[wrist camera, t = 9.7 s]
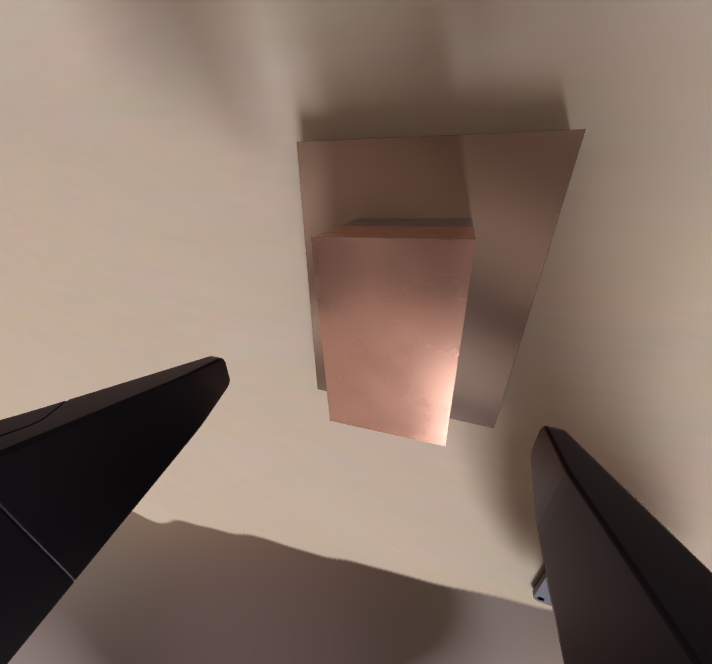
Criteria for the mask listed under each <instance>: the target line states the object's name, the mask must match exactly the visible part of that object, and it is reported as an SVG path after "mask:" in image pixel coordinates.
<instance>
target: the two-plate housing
mask: <svg viewBox="0 0 712 664" xmlns="http://www.w3.org/2000/svg"><path fill="white" fill-rule="evenodd" d="M475 243H476V237H475V232H474V227H473V221H472V218H382V219H356V220H353V221H351V222H348V223H345V224H343V225H340V226H338V227H335V228H332V229H330V230H327V231H324V232H322V233H319V234H317V235H314V236H311V245H312V254H313V264H314V273H315V282H316V292H317V301H318V311H319V320H320V330H321V339H322V348H323V358H324V367H325V377H326V386H327V395H328V405H329V414H330V421H334V422H339V423H343V424H348V425H352V426H357V427H361V428H366V429H370V430H375V431H379V432H384V433H388V434H393V435H397V436H402V437H406V438H411V439H415V440H420V441H424V442H429V443H433V444H438V445H442V446H445V444H446V437H447V430H448V424H449V417H450V410H451V404H452V397H453V390H454V384H455V377H456V370H457V363H458V357H459V350H460V343H461V337H462V330H463V323H464V317H465V310H466V303H467V297H468V290H469V283H470V277H471V270H472V263H473V256H474V250H475Z"/></svg>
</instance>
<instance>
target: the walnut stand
mask: <svg viewBox="0 0 712 664" xmlns="http://www.w3.org/2000/svg"><path fill="white" fill-rule="evenodd" d="M584 133H585V129H580V130H558V131H535V132H512V133H489V134H467V135H444V136H421V137H399V138H376V139H353V140H330V141H308V142H297V150H298V161H299V173H300V185H301V197H302V209H303V221H304V233H305V245H306V256H307V268H308V280H309V292H310V304H311V316H312V328H313V340H314V352H315V363H316V375H317V387H318V389H320V390H324V391H327V386H326V377H325V367H324V358H323V348H322V339H321V330H320V320H319V311H318V301H317V292H316V282H315V273H314V264H313V254H312V245H311V236H314V235H317V234H319V233H322V232H324V231H327V230H330V229H332V228H335V227H338V226H340V225H343V224H345V223H348V222H351V221H353V220H356V219H382V218H472V221H473V227H474V232H475V237H476V243H475V250H474V256H473V263H472V270H471V277H470V283H469V290H468V297H467V303H466V310H465V317H464V323H463V330H462V337H461V343H460V350H459V357H458V363H457V370H456V377H455V384H454V390H453V397H452V404H451V410H450V417H449V418H451V419H456V420H460V421H465V422H469V423H474V424H478V425H483V426H487V427H492V428H494V426H495V423H496V419H497V416H498V413H499V409H500V406H501V403H502V400H503V396H504V393H505V390H506V387H507V383H508V380H509V377H510V374H511V370H512V367H513V364H514V361H515V357H516V354H517V351H518V348H519V344H520V341H521V338H522V335H523V331H524V328H525V325H526V322H527V318H528V315H529V312H530V308H531V305H532V302H533V299H534V295H535V292H536V289H537V286H538V282H539V279H540V276H541V273H542V269H543V266H544V263H545V260H546V256H547V253H548V250H549V247H550V243H551V240H552V237H553V234H554V230H555V227H556V224H557V220H558V217H559V214H560V211H561V207H562V204H563V201H564V198H565V194H566V191H567V188H568V185H569V181H570V178H571V175H572V172H573V168H574V165H575V162H576V159H577V155H578V152H579V149H580V146H581V142H582V139H583V136H584Z"/></svg>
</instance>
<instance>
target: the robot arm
mask: <svg viewBox="0 0 712 664" xmlns="http://www.w3.org/2000/svg"><path fill="white" fill-rule="evenodd" d="M229 382H230V378H229V374H228V371H227V367H226V363H225V361H224V360H223V359H222V358H219V357H214V356H210V357H206V358H203V359H200V360H196V361H193V362H190V363H187V364H183V365H180V366H177V367H174V368H170V369H167V370H164V371H161V372H157V373H154V374H151V375H148V376H144V377H141V378H138V379H135V380H131V381H128V382H125V383H122V384H118V385H115V386H112V387H109V388H106V389H102V390H99V391H96V392H93V393H89V394H86V395H83V396H80V397H76V398H73V399H70V400H68V401H63V402H60V403H57V404H53V405H50V406H47V407H44V408H40V409H37V410H33V411H30V412H27V413H23V414H20V415H17V416H13V417H9V418H6V419H2V420H0V664H8V663H9V661H10V660H11V659H12V658H13V656H14V655H15V654H16V653H17V651H18V650H19V649H20V648H21V647H22V645H23V644H24V643H25V642H26V640H27V639H28V638H29V637H30V636H31V634H32V633H33V632H34V631H35V629H36V628H37V627H38V626H39V625H40V623H41V622H42V621H43V620H44V618H45V617H46V616H47V615H48V613H49V612H50V611H51V610H52V609H53V607H54V606H55V605H56V604H57V602H58V601H59V600H60V599H61V598H62V596H63V595H64V594H65V593H66V591H67V590H68V589H69V588H70V587H71V585H72V584H73V583H74V580H76V579H77V577H78V576H79V575H80V574H81V572H82V571H83V570H84V569H85V568H86V566H87V565H88V564H89V563H90V562H91V560H92V559H93V558H94V557H95V555H96V554H97V553H98V552H99V551H100V549H101V548H102V547H103V546H104V544H105V543H106V542H107V541H108V540H109V538H110V537H111V536H112V535H113V533H114V532H115V531H116V530H117V529H118V527H119V526H120V525H121V524H122V522H123V521H124V520H125V519H126V518H127V516H128V515H129V514H130V513H131V511H132V510H133V509H134V508H135V506H136V505H137V504H138V503H139V502H140V500H141V499H142V498H143V497H144V495H145V494H146V493H147V492H148V491H149V489H150V488H151V487H152V486H153V484H154V483H155V482H156V481H157V480H158V478H159V477H160V476H161V475H162V473H163V472H164V471H165V470H166V469H167V467H168V466H169V465H170V464H171V462H172V461H173V460H174V459H175V458H176V456H177V455H178V454H179V453H180V451H181V450H182V449H183V448H184V446H185V445H186V444H187V443H188V442H189V440H190V439H191V438H192V437H193V435H194V434H195V433H196V432H197V430H198V429H199V428H200V427H201V425H202V424H203V422H204V421H205V420H206V418H207V417H208V415H209V414H210V412H211V411H212V409H213V408H214V406H215V405H216V403H217V402H218V401H219V399H220V398H221V396H222V395H223V393H224V392H225V390H226V389H227V387H228V385H229ZM531 467H532V478H533V489H534V501H535V512H536V522H537V529H538V534H539V540H540V545H541V550H542V554H543V559H544V564H545V569H546V570H545V572H544V573H543V575H542V577H541V578H540V580H539V581H538V583H537V585H536V586H535V588H534V589H533V596H534V599H535V600H537V601H539V602H542V603H545V604H547V605H550V606H552V608H553V613H554V618H555V623H556V628H557V633H558V637H559V642H560V647H561V652H562V657H563V662H564V664H712V572H711V571H710V570H709V569H708V568H707V567H706V566H705V565H703V564H702V563H701V562H700V561H699V560H698V559H697V558H696V557H695V556H694V555H693V554H692V553H691V552H690V551H689V550H688V549H687V548H686V547H685V546H684V545H683V544H682V543H681V542H680V541H679V540H678V539H677V538H676V537H675V536H673V535H672V534H671V533H670V532H669V531H668V530H667V529H666V528H665V527H664V526H663V525H662V524H661V523H660V522H659V521H658V520H657V519H656V518H655V517H654V516H653V515H652V514H651V513H650V512H649V511H648V510H647V509H646V508H645V507H644V506H642V505H641V504H640V503H639V502H638V501H637V500H636V499H635V498H634V497H633V496H632V495H631V494H630V493H629V492H628V491H627V490H626V489H625V488H624V487H623V486H622V485H621V484H620V483H619V482H618V481H617V480H616V479H615V478H614V477H612V476H611V475H610V474H609V473H608V472H607V471H606V470H605V469H604V468H603V467H602V466H601V465H600V464H599V463H598V462H597V461H596V460H595V459H594V458H593V457H592V456H591V455H590V454H589V453H588V452H587V451H586V450H585V449H584V448H583V447H581V446H580V445H579V444H578V443H577V442H576V441H575V440H574V439H573V438H572V437H571V436H570V435H569V434H568V433H567V432H566V431H564V430H562V429H559V428H554V427H549V426H543V427H542V428H541V429H540V431H539V434H538V436H537V439H536V441H535V443H534V446H533V448H532V452H531Z"/></svg>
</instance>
